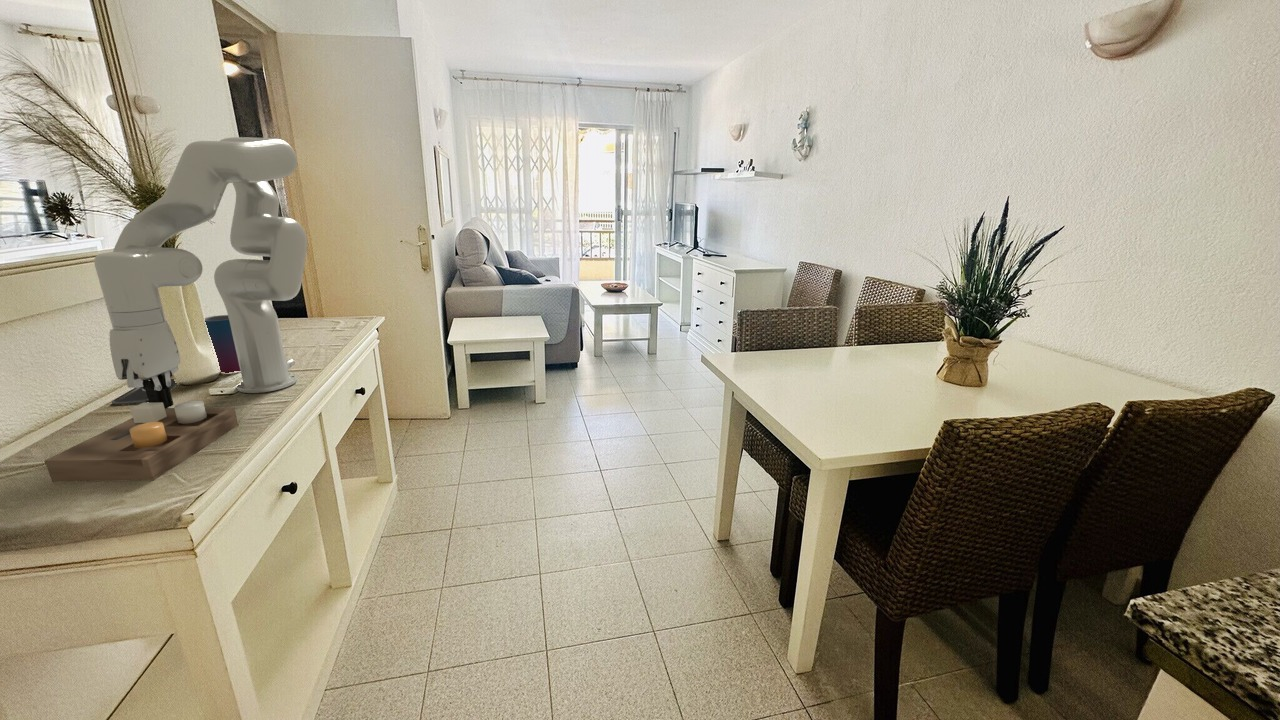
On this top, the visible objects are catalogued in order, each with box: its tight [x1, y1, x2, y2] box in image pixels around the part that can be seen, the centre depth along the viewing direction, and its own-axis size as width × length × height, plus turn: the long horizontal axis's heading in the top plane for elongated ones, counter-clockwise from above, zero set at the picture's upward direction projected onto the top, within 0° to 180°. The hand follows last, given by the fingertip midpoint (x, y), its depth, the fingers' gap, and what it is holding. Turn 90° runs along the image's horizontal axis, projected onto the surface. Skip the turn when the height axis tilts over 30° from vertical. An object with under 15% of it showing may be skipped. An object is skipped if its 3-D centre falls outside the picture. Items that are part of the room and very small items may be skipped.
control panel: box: [44, 407, 239, 483], centre depth 97 cm, size 22×16×4 cm
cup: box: [204, 314, 241, 373], centre depth 137 cm, size 7×7×15 cm
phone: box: [111, 378, 178, 406], centre depth 124 cm, size 8×1×15 cm
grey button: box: [173, 400, 207, 424], centre depth 101 cm, size 4×4×3 cm
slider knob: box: [130, 402, 167, 423], centre depth 100 cm, size 3×4×3 cm
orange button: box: [129, 422, 167, 448], centre depth 92 cm, size 4×4×3 cm
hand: (162, 406), depth 104 cm, fingers closed
